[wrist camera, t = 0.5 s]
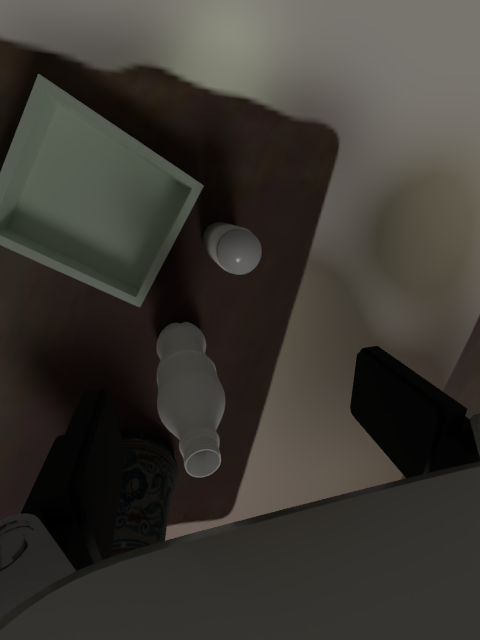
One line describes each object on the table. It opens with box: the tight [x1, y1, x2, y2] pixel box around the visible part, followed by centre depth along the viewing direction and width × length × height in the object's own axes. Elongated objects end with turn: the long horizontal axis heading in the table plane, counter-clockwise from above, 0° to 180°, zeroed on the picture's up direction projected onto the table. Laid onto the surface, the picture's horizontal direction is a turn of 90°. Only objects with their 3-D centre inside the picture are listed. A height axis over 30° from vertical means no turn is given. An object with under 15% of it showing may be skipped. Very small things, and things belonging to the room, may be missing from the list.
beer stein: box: [111, 430, 178, 557], centre depth 41 cm, size 16×19×25 cm
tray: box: [0, 74, 204, 307], centre depth 35 cm, size 17×18×5 cm
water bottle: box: [157, 322, 225, 477], centre depth 35 cm, size 7×7×25 cm
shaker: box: [202, 222, 261, 274], centre depth 38 cm, size 5×5×12 cm
